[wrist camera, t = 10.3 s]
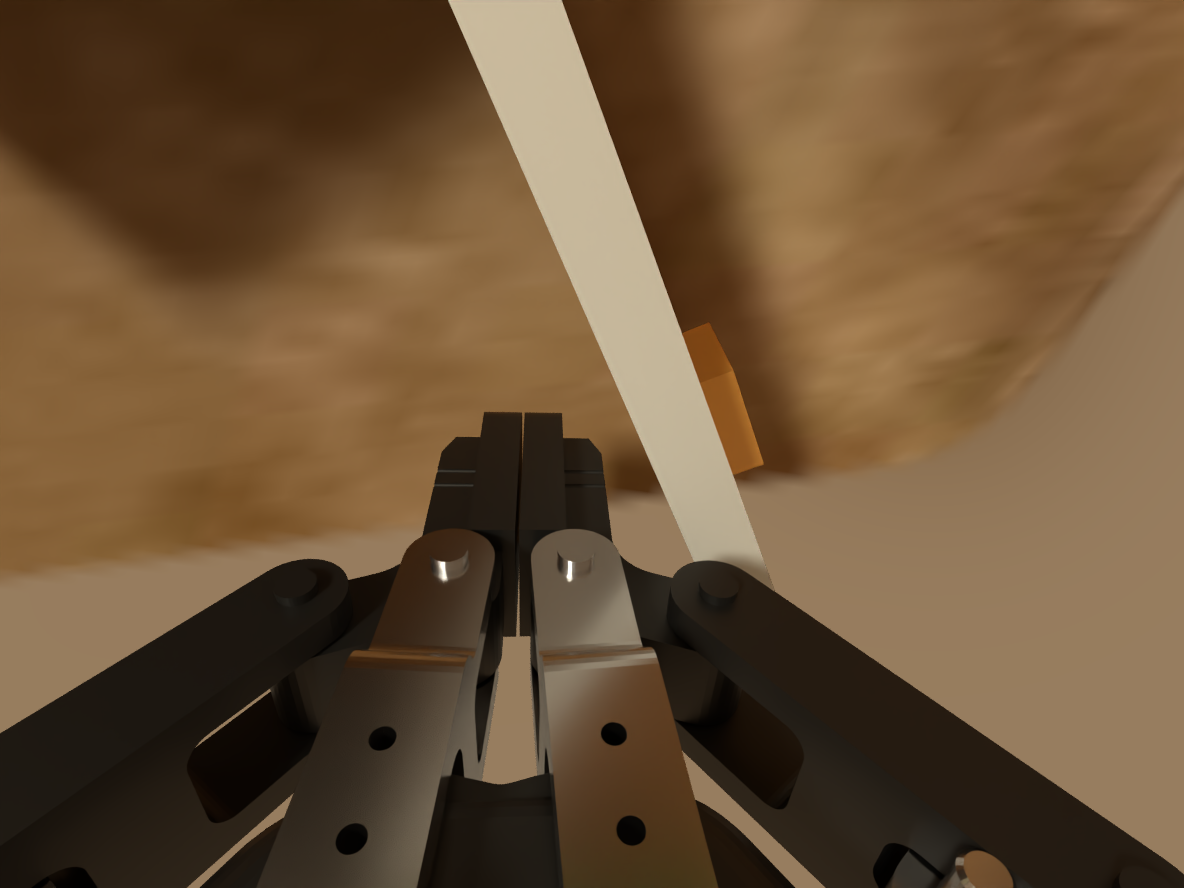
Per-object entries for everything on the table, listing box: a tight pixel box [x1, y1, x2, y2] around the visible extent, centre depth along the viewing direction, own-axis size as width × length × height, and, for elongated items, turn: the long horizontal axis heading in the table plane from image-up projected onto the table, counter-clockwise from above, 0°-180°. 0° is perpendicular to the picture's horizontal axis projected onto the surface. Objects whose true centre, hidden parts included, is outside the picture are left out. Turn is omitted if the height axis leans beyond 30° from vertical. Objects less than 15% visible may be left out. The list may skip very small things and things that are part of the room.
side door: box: [448, 0, 775, 591], centre depth 10 cm, size 17×2×7 cm, turn 22°
